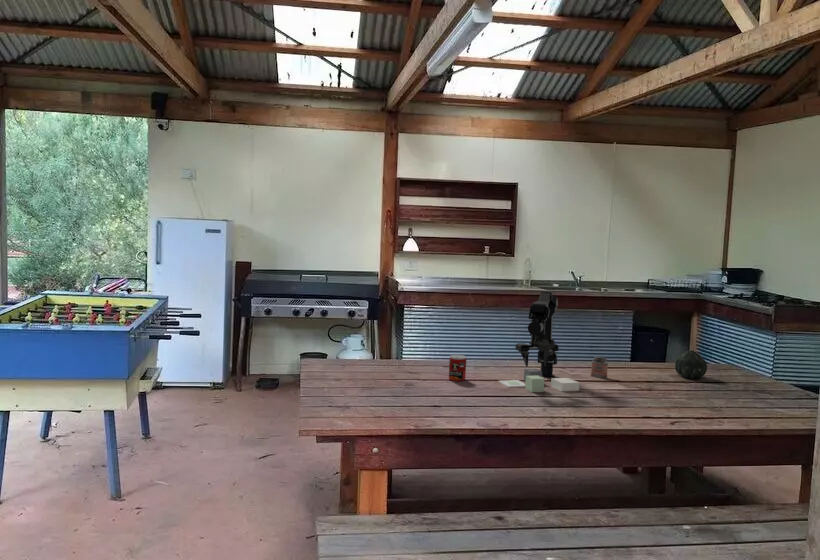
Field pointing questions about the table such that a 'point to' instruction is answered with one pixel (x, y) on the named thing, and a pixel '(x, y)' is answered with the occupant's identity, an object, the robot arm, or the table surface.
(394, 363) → the table surface
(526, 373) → the charcoal block
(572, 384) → the base block
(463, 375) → the canned food
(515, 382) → the tile
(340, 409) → the table surface
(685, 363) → the squash
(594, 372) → the lighter
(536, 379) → the sage block
